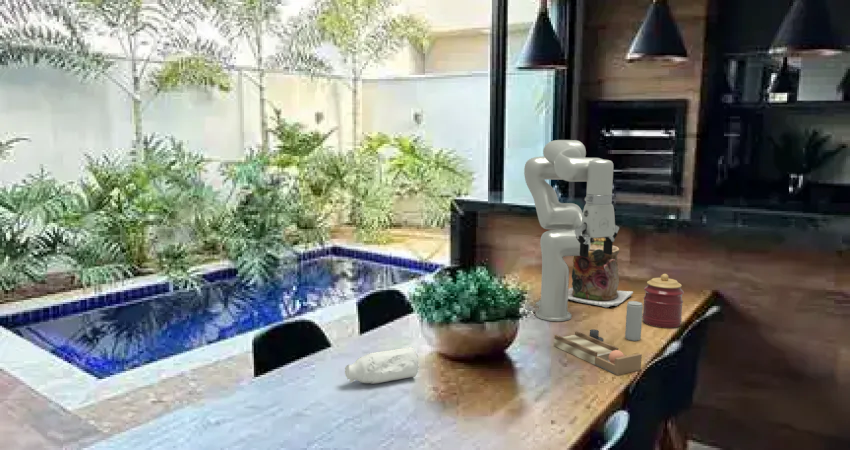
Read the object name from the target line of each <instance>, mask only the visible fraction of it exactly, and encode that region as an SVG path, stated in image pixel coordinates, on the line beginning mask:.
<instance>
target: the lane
mask: <svg viewBox="0 0 850 450" xmlns="http://www.w3.org/2000/svg"><path fill="white" fill-rule="evenodd" d="M553 347H555V348H557V349H559V350H562V351H564V352H565V353H568V354H570V355H572V356H575V357H576V358H579V359H581V360H583V361H585V362H588V363H590V364H592V365H594V366H596V365H595V357H600V358H602V359H604V360H606V361H609V354H610V353H611V352H612V351H614V350H619V347H617V346H615V345H612V344H609V343H607V342H605V341H603V342H602V341H600V340H598V339H595V338H593V337H590V335H588V334H586V333H583V332H581V331H578V330H575V331H574V334H573V335H567V336H561V335H558V334H554V336H553Z"/></svg>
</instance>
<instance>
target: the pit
mask: <svg viewBox="0 0 850 450" xmlns="http://www.w3.org/2000/svg"><path fill="white" fill-rule="evenodd" d="M642 357H643V356H642V353H639V352H638V353H637V352H636V353H633V354H628V355H627V354H624V356H623V357H618V358H615V364H613V363H611V362H610V361H606V360H604V359H602V358H600V357H595V365H594V366H596V367H598V368H601V369H602V370H605V371H606V372H610V373H612V374H614V375H616V376H619V375H624V374H629V373H632V372H637V371H641V370H642Z"/></svg>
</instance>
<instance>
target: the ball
mask: <svg viewBox="0 0 850 450" xmlns="http://www.w3.org/2000/svg"><path fill="white" fill-rule="evenodd" d="M624 355H625V353H623V352H622V351H621V350H619V349H618V350H614V351H612V352H611V353H610V354H609V361H610V362H611V363H613V364H615V358H618V357H623V356H624Z"/></svg>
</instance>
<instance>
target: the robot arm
mask: <svg viewBox="0 0 850 450" xmlns="http://www.w3.org/2000/svg"><path fill="white" fill-rule="evenodd" d="M542 152H543V153H542V154H543V156H535V157H531V158H529V159H528V160H527V161H526V162H525V164H524V169H523V171H524V172H523V174H524V175H523V176H524V180H525V184H526V185H527V188H528V190H529V192H530V194H531V196H532V198H533V202H534V207H535V209H536V210H535V211H536V215H537V219H538V222H539V225H540V227H541V228H543V229H544V230H547V231H545V232H542V234H541V237H540V241H539V243H540V250H541V288H540V299H539V300H538V301H536V302H535V306H536V307H538V309H537V311H535V317H536V318H538V319H541V320H543V321H548V322H549V321H551V322H564V321H565V322H567V321H569V320H571V319H572V317H573V316H572V313H571V312H569V311H568V303H569V299H568V289H569V284H570V283H569V282H570V268H569V266H568V264H567V262H566V261H565V260H564V257H574V256H583V257H588V252H589V250H590V238H605V240H606V241H604V247H603V253H605V254H609V255H611V254H612V245H613V243H614V242H615V239H616V238H617V236H618V232H619V230H620V226H618V225H616V220H615V219H616V218H615V209H614V208H615V207H614V204H612V199H613V180H614V163H613V161H612V160H609V159H603V158H600V157H586V155H587V151H586V146H585V145H584V144H583V142H581V141H580V140H577V139H574V140H572V139H557V140H556V139H555V140H550V141H548V143H546V144H545V146H544V147H543V150H542ZM546 180H548V181H549V180H551V181H552V180H563V181H565V182H569V183H573V182H576V183H577V182H586V194H585V195H586V196H585V197H584V201H585V205H584V207H583V210H582V209H581V207H580V206H579V205H578V204H575V203H572V202H569V203H568V202H565V203H564V202H560V201H559V198H558V195H557V194H558V193H557V192H556V190H555V189H554V188H553V186H552V185H550V184H549V183H548V182H547V181H546ZM613 246H614V245H613Z"/></svg>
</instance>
